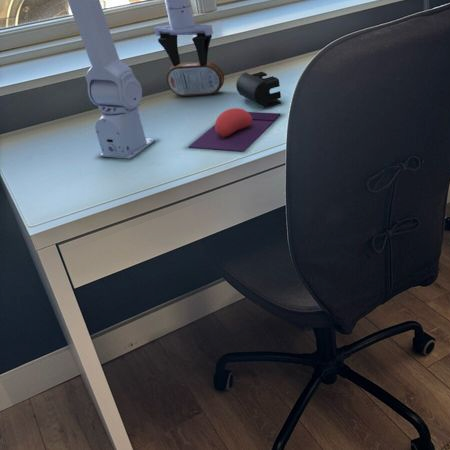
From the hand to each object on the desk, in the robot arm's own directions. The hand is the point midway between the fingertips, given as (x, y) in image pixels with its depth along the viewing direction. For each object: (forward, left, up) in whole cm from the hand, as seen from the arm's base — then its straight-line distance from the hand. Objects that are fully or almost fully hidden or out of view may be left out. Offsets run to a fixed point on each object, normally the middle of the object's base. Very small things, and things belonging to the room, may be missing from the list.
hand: (190, 65), depth 137 cm
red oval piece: (-15, -18, -10) cm, 26 cm away
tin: (+7, +4, -10) cm, 13 cm away
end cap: (+3, -16, -10) cm, 19 cm away
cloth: (-14, -18, -10) cm, 25 cm away
